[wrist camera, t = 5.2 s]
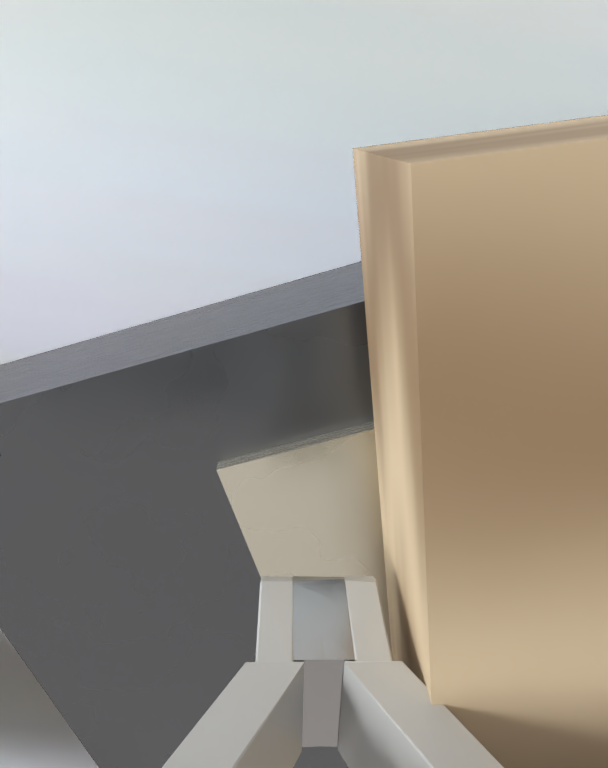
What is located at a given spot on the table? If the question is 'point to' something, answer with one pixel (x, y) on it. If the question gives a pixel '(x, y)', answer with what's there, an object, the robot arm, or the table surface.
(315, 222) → the table surface
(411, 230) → the tan bar
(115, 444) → the panel
